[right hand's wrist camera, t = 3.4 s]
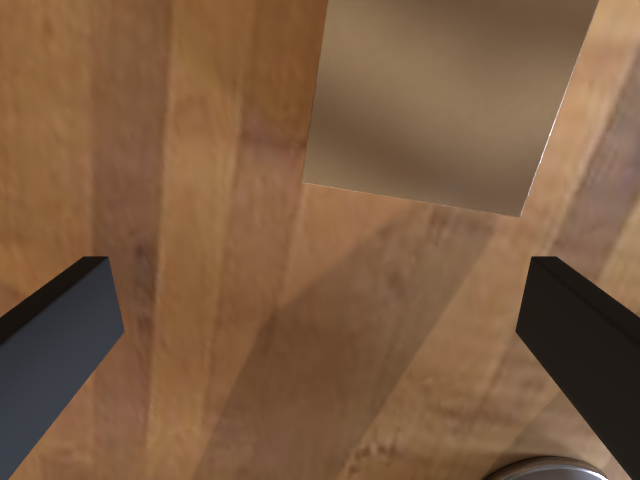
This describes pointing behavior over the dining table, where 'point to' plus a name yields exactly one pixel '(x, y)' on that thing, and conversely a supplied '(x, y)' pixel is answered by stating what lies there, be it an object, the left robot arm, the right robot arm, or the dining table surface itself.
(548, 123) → the cabinet
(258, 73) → the dining table surface
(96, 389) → the dining table surface
